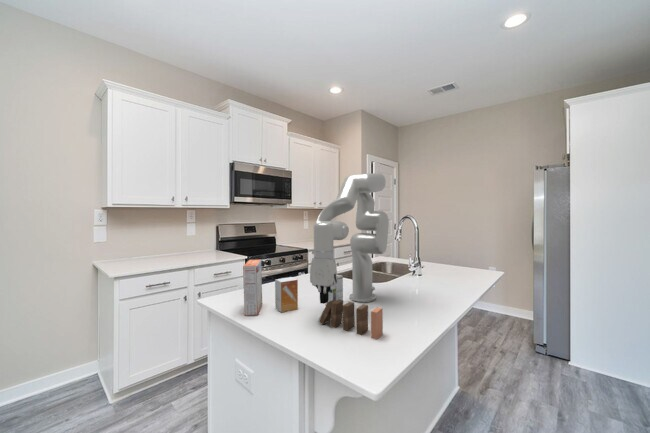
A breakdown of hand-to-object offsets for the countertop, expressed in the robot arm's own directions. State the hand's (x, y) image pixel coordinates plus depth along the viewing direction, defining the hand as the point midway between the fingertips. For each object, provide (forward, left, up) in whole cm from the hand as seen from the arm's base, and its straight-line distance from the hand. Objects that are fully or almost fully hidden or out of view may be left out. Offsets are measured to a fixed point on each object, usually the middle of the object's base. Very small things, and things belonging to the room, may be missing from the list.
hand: (324, 302), depth 111 cm
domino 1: (0, 0, -7) cm, 7 cm away
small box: (-3, -22, -8) cm, 24 cm away
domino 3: (0, +11, -8) cm, 13 cm away
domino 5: (0, +22, -8) cm, 23 cm away
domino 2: (0, +5, -8) cm, 9 cm away
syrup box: (-15, -5, -8) cm, 18 cm away
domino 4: (0, +16, -8) cm, 18 cm away
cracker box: (+6, -33, -8) cm, 35 cm away
